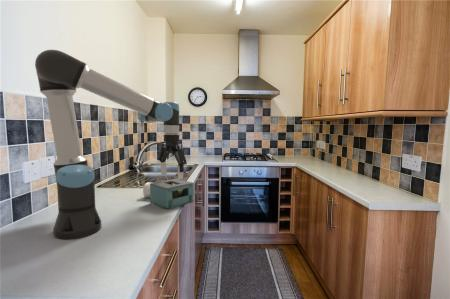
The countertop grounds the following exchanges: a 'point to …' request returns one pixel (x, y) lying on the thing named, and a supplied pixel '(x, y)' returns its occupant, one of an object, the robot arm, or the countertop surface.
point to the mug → (146, 190)
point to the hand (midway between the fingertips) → (171, 176)
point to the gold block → (176, 193)
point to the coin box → (170, 193)
